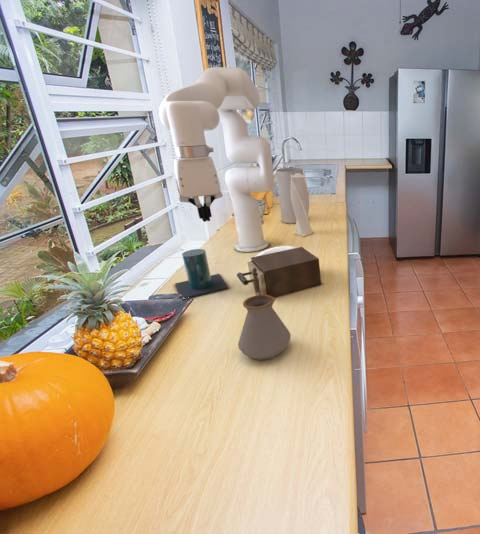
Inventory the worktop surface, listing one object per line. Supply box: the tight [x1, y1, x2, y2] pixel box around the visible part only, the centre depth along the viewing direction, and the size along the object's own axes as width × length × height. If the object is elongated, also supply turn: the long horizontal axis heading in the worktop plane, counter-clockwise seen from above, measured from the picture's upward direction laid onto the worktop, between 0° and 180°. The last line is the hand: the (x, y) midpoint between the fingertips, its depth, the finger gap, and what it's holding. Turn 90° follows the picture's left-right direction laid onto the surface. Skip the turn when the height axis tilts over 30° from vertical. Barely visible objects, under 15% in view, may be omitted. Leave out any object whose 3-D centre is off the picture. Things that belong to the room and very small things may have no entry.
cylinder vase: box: [275, 167, 304, 225], centre depth 188 cm, size 12×12×25 cm
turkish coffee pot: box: [237, 268, 292, 361], centre depth 91 cm, size 21×12×15 cm, turn 21°
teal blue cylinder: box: [181, 248, 212, 290], centre depth 119 cm, size 8×6×11 cm
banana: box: [254, 245, 299, 257], centre depth 140 cm, size 5×19×15 cm
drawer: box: [236, 260, 267, 295], centre depth 120 cm, size 20×13×7 cm, turn 125°
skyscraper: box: [291, 169, 314, 237], centre depth 167 cm, size 8×8×28 cm
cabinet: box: [250, 246, 322, 298], centre depth 122 cm, size 17×14×9 cm
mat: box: [175, 273, 229, 299], centre depth 122 cm, size 13×13×1 cm
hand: (206, 220), depth 108 cm, fingers closed
